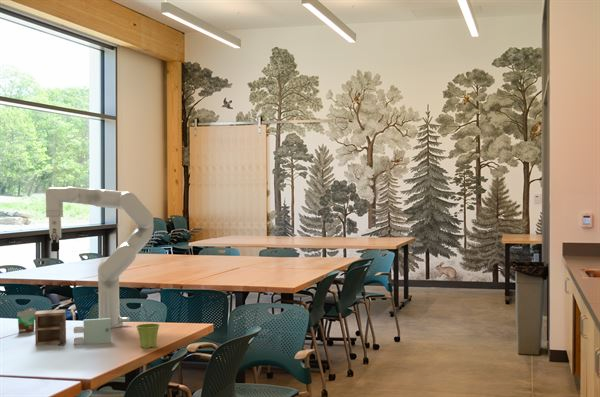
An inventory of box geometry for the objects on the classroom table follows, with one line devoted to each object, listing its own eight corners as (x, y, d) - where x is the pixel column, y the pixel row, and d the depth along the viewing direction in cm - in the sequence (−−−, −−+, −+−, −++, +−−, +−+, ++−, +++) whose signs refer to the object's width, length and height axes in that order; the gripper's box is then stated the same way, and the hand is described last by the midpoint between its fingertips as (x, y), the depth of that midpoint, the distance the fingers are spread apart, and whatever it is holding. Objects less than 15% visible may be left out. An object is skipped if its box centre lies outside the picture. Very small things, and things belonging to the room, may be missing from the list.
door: (110, 341, 330) (110, 317, 330) (110, 342, 326) (110, 319, 326) (74, 343, 326) (73, 319, 326) (73, 345, 322) (73, 321, 322)
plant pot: (154, 349, 311) (154, 327, 311) (132, 348, 313) (132, 327, 313) (163, 344, 320) (163, 323, 320) (142, 344, 322) (141, 323, 322)
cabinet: (66, 339, 335) (65, 309, 335) (65, 345, 322) (64, 314, 322) (36, 341, 332) (36, 311, 332) (34, 347, 319) (34, 315, 319)
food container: (30, 333, 351) (30, 311, 351) (17, 333, 351) (17, 311, 351) (40, 328, 364) (40, 307, 364) (27, 328, 364) (27, 307, 364)
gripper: (62, 214, 353) (63, 251, 353) (63, 213, 370) (64, 249, 370) (45, 214, 351) (45, 252, 351) (47, 213, 368) (47, 249, 368)
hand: (55, 250), depth 360 cm, fingers open, 9 cm apart
